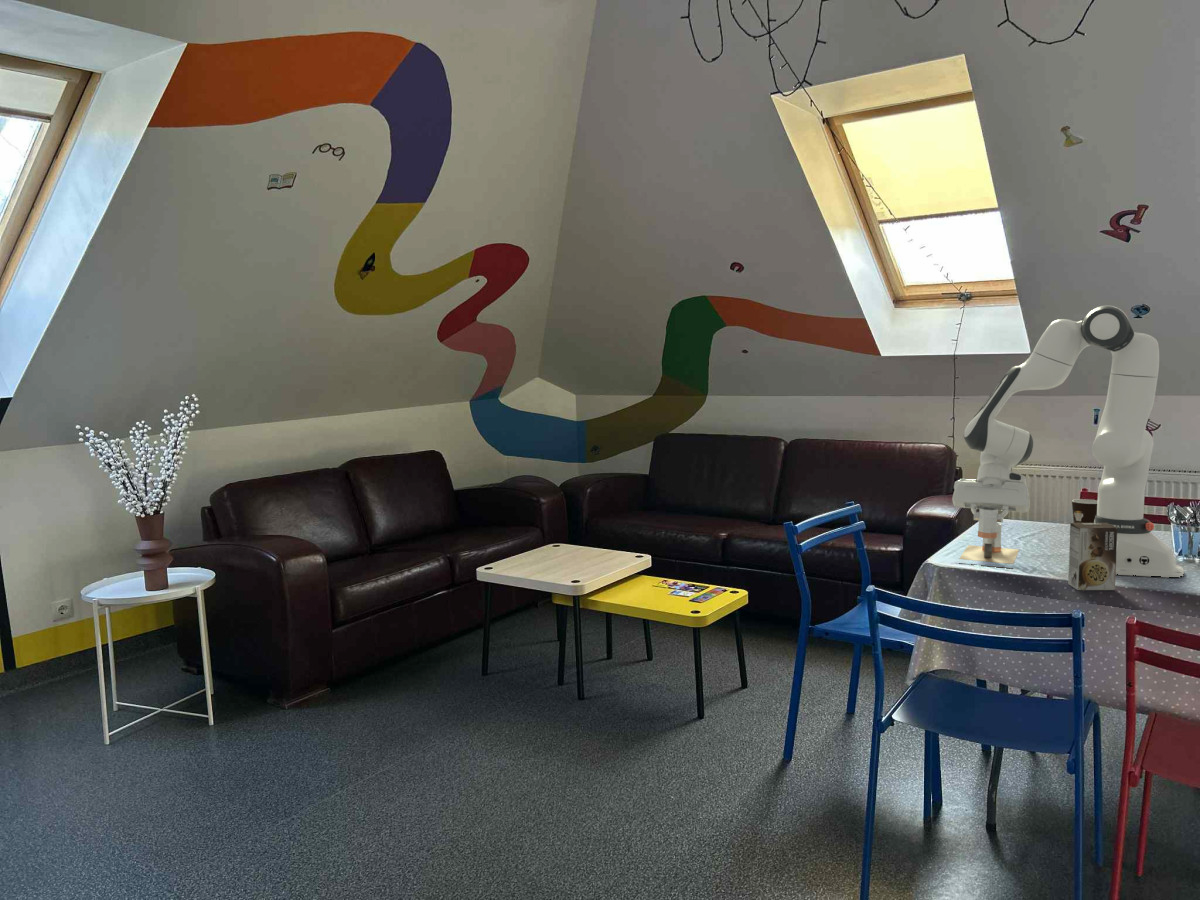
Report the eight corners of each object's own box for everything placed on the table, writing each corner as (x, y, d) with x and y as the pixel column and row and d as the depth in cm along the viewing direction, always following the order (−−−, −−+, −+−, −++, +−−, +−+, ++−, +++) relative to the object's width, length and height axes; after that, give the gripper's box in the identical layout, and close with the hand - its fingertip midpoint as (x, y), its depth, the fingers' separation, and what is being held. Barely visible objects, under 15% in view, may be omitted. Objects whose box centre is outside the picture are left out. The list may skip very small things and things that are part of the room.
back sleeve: (1001, 549, 267) (1002, 522, 266) (999, 553, 262) (1000, 525, 262) (983, 548, 269) (984, 521, 268) (981, 551, 265) (982, 524, 264)
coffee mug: (1065, 529, 303) (1066, 499, 302) (1091, 528, 303) (1092, 499, 301) (1083, 536, 291) (1085, 505, 290) (1110, 535, 291) (1112, 505, 290)
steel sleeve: (997, 535, 258) (999, 508, 257) (995, 539, 253) (997, 510, 252) (979, 534, 260) (980, 506, 259) (977, 537, 256) (978, 509, 255)
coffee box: (1104, 584, 233) (1107, 522, 231) (1115, 590, 226) (1118, 527, 224) (1066, 583, 233) (1069, 522, 232) (1077, 590, 227) (1080, 526, 225)
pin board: (1019, 554, 267) (1019, 536, 266) (1013, 569, 249) (1013, 549, 249) (968, 550, 274) (968, 532, 273) (958, 564, 256) (959, 544, 256)
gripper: (954, 472, 266) (947, 510, 258) (1031, 476, 256) (1027, 516, 248) (955, 485, 270) (949, 523, 263) (1031, 490, 260) (1027, 529, 253)
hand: (988, 520), depth 255 cm, fingers closed on steel sleeve, 5 cm apart
